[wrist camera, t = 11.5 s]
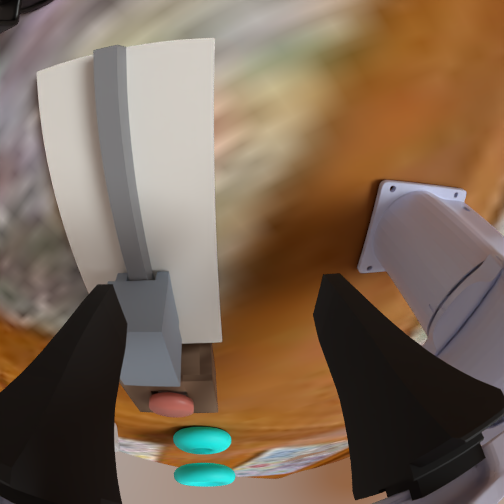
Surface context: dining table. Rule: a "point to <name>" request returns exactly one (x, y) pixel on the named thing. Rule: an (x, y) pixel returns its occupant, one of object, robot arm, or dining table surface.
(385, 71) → the dining table surface
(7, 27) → the french press
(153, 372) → the carriage
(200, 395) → the cabinet
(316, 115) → the dining table surface
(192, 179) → the rail
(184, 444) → the donuts
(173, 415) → the button
